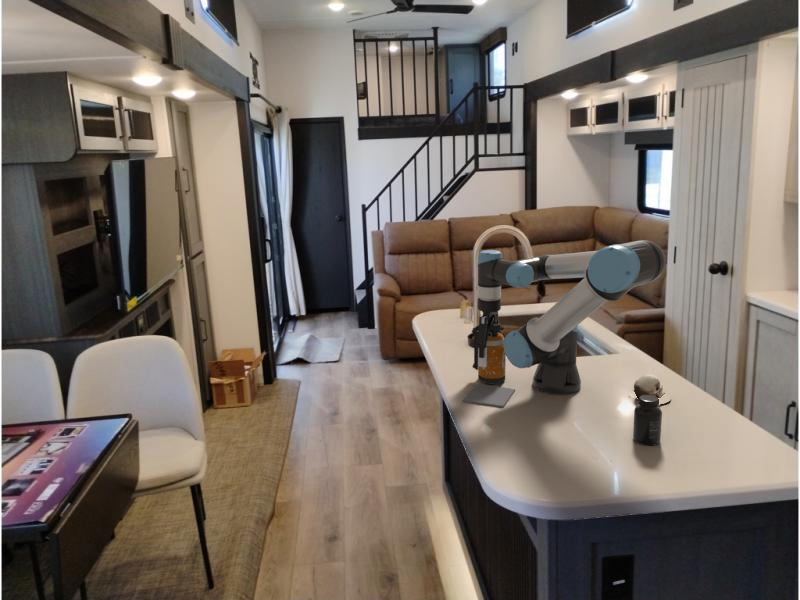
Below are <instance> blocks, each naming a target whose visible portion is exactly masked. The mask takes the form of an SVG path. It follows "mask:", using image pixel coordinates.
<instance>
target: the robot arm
mask: <svg viewBox="0 0 800 600" xmlns="http://www.w3.org/2000/svg"><path fill="white" fill-rule="evenodd" d="M666 262H667V259H666V255H665V252H664V250H663V249H662V248H661V246H660V245H659V244H657V243H655V242H654V241H651V240H646V239H642V240H641V239H640V240H634V241H629V242H626V243H619V244H617V243H616V244H611V245H607V246H605V247H603V248H601V249H599V250H591V251H581V252H574V253H573V252H571V253H570V252H569V253H561V254H559V253H558V254H543V255H539V256H534V257H530V258H523V259H518V260H509V259H505V258H504V259H503V254H502V251H500V250H496V249H484V250H481V251H480V252H479V253H478V257H477V287H476V290H477V297H478V298H477V310H478V311H481V312H482V315H481V316H479V318H478V320H479V321H478V322H479V323H478V325H479V329H478V331H477V332H478V335H477V342H476V345H475V347H476V348H478V366H479V367H487V347H486V344H487V339H488V335H489V330H490V329H491V328H492V324H497V323H500V317H499V311H500V310H501V308H502V307H501V306H502V300H501V297H502V285H506V286H511V287H512V288H520V289H524V288H525V289H526V288H528V287H529V286H530V285H531V284H532V283H533V282H537V281H543V280H554V279H555V280H556V279H574V278H575V279H576V278H579V279H580V278H583V279H582V280H581V281H579V282H578V283H577V284H576V285H575V286H573V288H572V289H571V290H569V291H568V292H567V293H566V294H565V295H564V296H562V297H561V298H560V299H559V300H558V301H557V302H556V303H555V304H554V305H553V306H551V307H550V308H549V309H548V310H547V311H546V312H545V313H543V315H541V316H540V317H533V318H531V319H530V320H529V319H528V321H527V322H526V323H525V324H524V325H523V326H522V327H520V328H518V329H517V330H511V331H510V332H508V333H507V334H506V336H505V337H504V351H505V354H506V358H507V360H508V361H509V363H510V364H511V365H512V366H514V367H516V368H518V369H529V368H530V367H533V366H535V365H537V366H536V369H535V372H534V375H533V377H532V385H533V387H534V388H535V389H537V390H538V391H540V392H543V393H547V394H553V395H567V394H573V393H576V392H578V391H580V390H581V387H582V386H581V385H582V380H581V376H580V373H579V369H578V366H577V354H578V353H577V351H578V350H577V349H578V336H579V335H578V333H579V331H578V328H579V327H578V326H579V324H581V323H582V322H583V321H584V320H586V319H587V318H588V317H590V316H591V315H592V314H593V313H594V312H596V311H597V310H599V308H600V307H602V306H603V305H605V303H607V302H612V303H613V302H617V301H618V300H619V299H621V298H622V297H623V296H625V295H626V294H628V293H629V291H631V290H632V289H634V288H635V287H638V286H643V285H646V284H649V283H652V282H654V281H655V280H657V279H658V278H660V277H661V276H662V274H663V272H664V271H665V268H666V264H667V263H666ZM497 333H501V334H502V331H500V332H497Z"/></svg>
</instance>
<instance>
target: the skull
mask: <svg viewBox="0 0 800 600" xmlns="http://www.w3.org/2000/svg"><path fill="white" fill-rule="evenodd" d="M633 391H634V392H635V394H636V396H637V398H638V399H639V397H640V396H642V395H652V396H655V397H657V398H661V397H662V396H663V395H664V394H665V393H666V392H665V391H664V388H663V385H662V384H661V382H660V379H659V378H657V376H655V375H652V374H643V375H642V376H640V377H639V378H638V379H636V380H635V382H634V386H633ZM664 392H665V393H664Z"/></svg>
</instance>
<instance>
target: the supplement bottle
mask: <svg viewBox="0 0 800 600" xmlns="http://www.w3.org/2000/svg"><path fill="white" fill-rule="evenodd" d="M659 406H660V405H659V399H658V398H657V397H655V396H652V395H642V396H640V397H639V400H638V405H637V406H636V407H635V408H634V411H633V413H634V414H633V428H632V430H633V431H632V434H633V435H632V439H633V440H634V441H635V442H636V443H637V442H638V444H640V445H643V444H644V446H655V445H654V444H656V445H659V443H660V442H661V435H662V421H663V420H662V418H663V411H662V410H661V408H660V407H659Z"/></svg>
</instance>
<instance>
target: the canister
mask: <svg viewBox="0 0 800 600" xmlns="http://www.w3.org/2000/svg"><path fill="white" fill-rule="evenodd" d="M478 329H479V324H478V325H476V326H474V327H473V328H472V330H471V333H472V335H473V338H474V339H473V364H472V368H473V369H474V370H476V371H478V375H477V378H478V380H479V381H480V382H482V383H484V382H485V384H487V385H488V384H489V385H497V384H500V383H503V382H505V381H506V360H507V359H506V358H507V356H506V354H505V351H504V339H505V337H504V335H503V334H502V332H501V331H503V330H504V329H505V326H504V325H503V324H502V323H501V322H499V323H497V324H492V328H491V329H490V330H489V335H488V339H487V344H486V347H487V367H479V366H478V348H476V347H475V345H476V342H477V335H478ZM497 332H501V333H497Z"/></svg>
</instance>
